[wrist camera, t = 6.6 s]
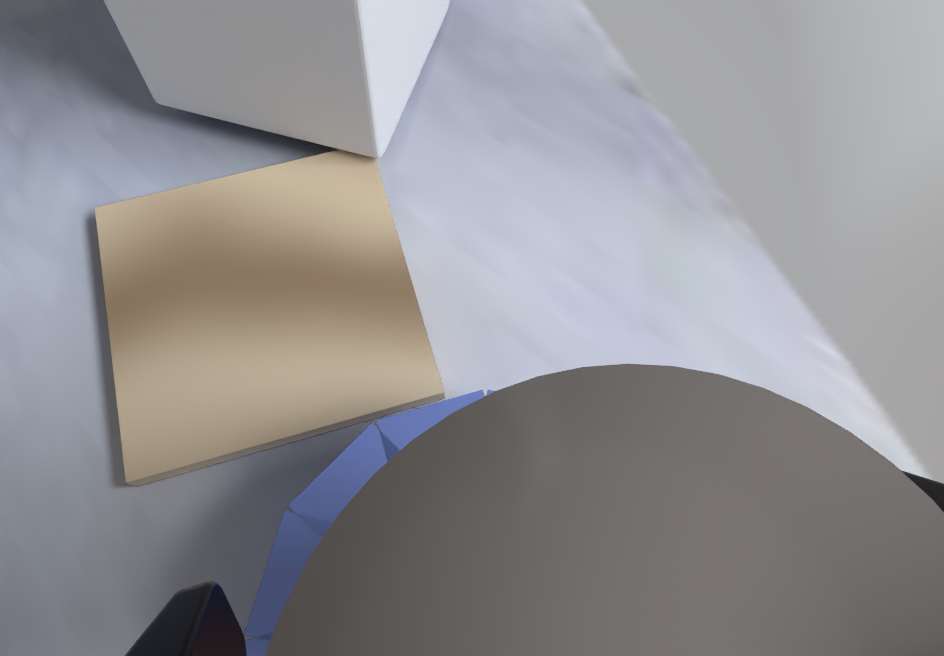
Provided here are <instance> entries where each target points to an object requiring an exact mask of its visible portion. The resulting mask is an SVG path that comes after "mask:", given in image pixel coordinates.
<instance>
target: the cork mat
mask: <svg viewBox="0 0 944 656" xmlns="http://www.w3.org/2000/svg"><path fill="white" fill-rule="evenodd" d="M95 214H96V223H97V232H98V241H99V250H100V258H101V267H102V276H103V285H104V294H105V303H106V312H107V320H108V329H109V338H110V347H111V356H112V365H113V373H114V382H115V391H116V400H117V409H118V418H119V427H120V435H121V444H122V453H123V462H124V471H125V480H126V483H128V484H131V485H134V486H141V485H144V484H148V483H151V482H155V481H158V480H162V479H165V478H169V477H172V476H176V475H179V474H183V473H186V472H190V471H193V470H197V469H200V468H203V467H207V466H210V465H214V464H217V463H221V462H224V461H228V460H231V459H235V458H238V457H242V456H245V455H249V454H252V453H256V452H259V451H263V450H266V449H270V448H273V447H277V446H280V445H284V444H287V443H291V442H294V441H298V440H301V439H305V438H308V437H312V436H315V435H319V434H322V433H326V432H329V431H333V430H336V429H340V428H343V427H347V426H350V425H354V424H357V423H361V422H364V421H368V420H371V419H375V418H378V417H382V416H385V415H389V414H392V413H396V412H399V411H403V410H406V409H410V408H413V407H417V406H420V405H424V404H427V403H431V402H434V401H438V400H441V399H445V396H444V390H443V387H442V383H441V380H440V377H439V373H438V370H437V366H436V363H435V360H434V356H433V353H432V349H431V346H430V343H429V339H428V336H427V332H426V329H425V326H424V322H423V319H422V315H421V312H420V309H419V305H418V302H417V298H416V295H415V292H414V288H413V285H412V281H411V278H410V275H409V271H408V268H407V264H406V261H405V257H404V254H403V251H402V247H401V244H400V240H399V237H398V234H397V230H396V227H395V223H394V220H393V217H392V213H391V210H390V206H389V203H388V200H387V196H386V193H385V189H384V186H383V183H382V179H381V176H380V172H379V169H378V166H377V162H376V159H375V158H373V157H369V156H365V155H361V154H357V153H353V152H349V151H345V150H341V149H339V150H335V151H331V152H327V153H322V154H318V155H314V156H310V157H306V158H301V159H297V160H293V161H289V162H285V163H281V164H276V165H272V166H268V167H264V168H260V169H255V170H251V171H247V172H243V173H239V174H234V175H230V176H226V177H222V178H218V179H213V180H209V181H205V182H201V183H197V184H192V185H188V186H184V187H180V188H176V189H172V190H167V191H163V192H159V193H155V194H151V195H146V196H142V197H138V198H134V199H130V200H125V201H121V202H117V203H113V204H109V205H104V206H100V207H96V208H95Z"/></svg>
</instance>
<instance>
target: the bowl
mask: <svg viewBox="0 0 944 656" xmlns="http://www.w3.org/2000/svg"><path fill="white" fill-rule="evenodd" d="M493 392H495V391H491V390H488V391H487V395H489V394H491V393H493ZM487 395H486V396H487ZM483 397H485V396H484V393H483V390H480V391H477V392H473V393H470V394H466V395H463V396H459V397H456V398H452V399H449V400H445V401H442V402H438V403H435V404H431V405H428V406H424V407H421V408H417V409H414V410H410V411H407V412H403V413H400V414H396V415H393V416H389V417H386V418H382V419H379V420H377V423H378V427H379V429H378V428H377V427H376V426H375V425H374V424H373V423H371V424H370V425H369V426H368V427H367V428H366V429H365V430H364V431H363V432H362V433H361V434H360V435H359V436H358V437H357V438H356V439H355V440H354V441H353V442H352V443H351V444H350V445H349V446H348V447H347V448H346V449H345V450H344V451H343V452H342V453H341V454H340V455H339V456H338V457H337V458H336V459H335V460H334V461H333V462H332V463H331V464H330V465H329V466H328V467H327V468H326V469H325V470H324V471H323V472H322V473H320V474H319V475H318V476H317V477H316V478H315V479H314V480H313V481H312V482H311V483H310V484H309V485H308V486H307V487H306V488H305V489H304V490H303V491H302V492H301V493H300V494H299V495H298V496H297V497H296V498H295V499H294V500H293V501H292V502H291V503H290V504H289V505H288V506H289V507H290V508H291V510H292V511H293V512H294V513H293V512H289V511H284V514H283V517H282V520H281V523H280V526H279V529H278V533H277V536H276V539H275V542H274V545H273V548H272V551H271V554H270V557H269V560H268V563H267V566H266V569H265V572H264V575H263V578H262V581H261V584H260V587H259V590H258V593H257V596H256V599H255V602H254V605H253V609H252V612H251V615H250V618H249V621H248V624H247V627H246V630H245V633H244V635H247V636H251V637H254V638H251V639H248V640H245V644H246V653H247V656H265V653H266V651H267V648H268V645H269V643H270V640H271V638H272V635H273V632H274V630H275V627H276V624H277V622H278V619H279V616H280V614H281V611H282V609H283V607H284V605H285V603H286V601H287V599H288V597H289V595H290V594H291V592H292V590H293V588H294V586H295V584H296V582H297V580H298V578H299V576H300V574H301V572H302V570H303V568H304V567H305V565H306V563H307V561H308V559H309V557H310V556H311V554H312V553H313V551H314V550H315V548H316V547H317V546H318V544H319V543H320V541H321V540H322V538H323V537H324V535H325V534H326V532H327V531H328V529H329V528H330V526H331V525H332V524H333V522H334V521H335V519H336V518H337V516H338V515H339V513H340V512H341V511H342V510H343V509H344V508H345V506H346V505H347V504H348V503H349V502H350V501H351V500H352V498H353V497H354V496H355V495H356V494H357V493H358V492H359V490H360V489H361V488H362V487H363V486H364V485H365V484H366V482H367V481H368V480H369V479H370V478H371V477H372V476H373V475H374V473H376V472H377V471H378V470H379V469H380V468H381V467H382V466H383V465H385V464H386V463H387V462H388V461H389V460H390V459H391V458H392V457H394V456H395V455H396V454H397V453H398V452H399V451H400V450H402V449H403V448H404V447H405V446H406V445H407V444H408V443H409V442H411V441H412V440H413V439H415V438H416V437H417V436H419V435H420V434H422V433H423V432H425V431H426V430H428V429H429V428H431V427H432V426H434V425H435V424H437V423H438V422H440V421H441V420H443V419H444V418H445V417H447V416H448V415H450V414H451V413H453V412H455V411H457V410H459V409H461V408H463V407H465V406H467V405H469V404H471V403H473V402H475V401H477V400H479V399H481V398H483Z"/></svg>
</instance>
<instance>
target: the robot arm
mask: <svg viewBox="0 0 944 656" xmlns="http://www.w3.org/2000/svg"><path fill="white" fill-rule="evenodd" d="M902 472H903V473H904V474H905V475H906V476H907V477H908V478H909V479H910V480H912V481H913V482H914V483H915V484H916V485H917V486H918V487H919V488H920V489H921V490H923V491H924V492H925V493H926V494H927V495H928V496H929V497H930V498H931V499H932V500H933V501H934V502H935V503H936V504H937V505H938V506H939V508H940V509H941V510H942V511H943V512H944V484H943V483H940V482H936V481H933V480H930V479H927V478H924V477H920V476H917V475H914V474H911V473H907V472H904V471H902ZM125 656H247V653H246V644H245V639H244V636H243V632H242V630H241V628H240V626H239V624H238V621H237V619H236V617H235V615H234V613H233V611H232V609H231V607H230V605H229V602H228V600H227V598H226V596H225V594H224V592H223V590H222V588H221V587H220V586H219V585H218V584H217V583H216V582H212V581H209V582H205V583H202V584H199V585H196V586H192V587H189V588H186V589H183V590H180V591H179V592H177V593H176V594H175V595H174V596H173V597H172V598H171V600H170V601H169V602H168V603H167V604H166V606H165V607H164V608H163V609H162V611H161V612H160V613H159V614H158V616H157V617H156V618H155V619H154V620H153V622H152V623H151V624H150V625H149V627H148V628H147V629H146V630H145V631H144V633H143V634H142V635H141V636H140V638H139V639H138V640H137V641H136V643H135V644H134V645H133V646H132V647H131V649H130V650H129V651H128V652H127V654H126V655H125Z"/></svg>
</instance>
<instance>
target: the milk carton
mask: <svg viewBox="0 0 944 656" xmlns="http://www.w3.org/2000/svg"><path fill="white" fill-rule="evenodd" d="M104 2H105V4H106V6H107V8H108V10H109V12H110V14H111V16H112V18H113V20H114V22H115V24H116V26H117V28H118V30H119V32H120V34H121V36H122V38H123V40H124V42H125V43H126V45H127V47H128V49H129V51H130V53H131V55H132V57H133V59H134V61H135V63H136V65H137V67H138V69H139V71H140V73H141V75H142V77H143V79H144V81H145V83H146V84H147V86H148V88H149V90H150V92H151V94H152V96H153V98H154V100H155V101H156V103H158V104H160V105H164V106H168V107H172V108H176V109H180V110H184V111H188V112H192V113H196V114H200V115H204V116H208V117H212V118H216V119H220V120H224V121H228V122H232V123H236V124H240V125H244V126H248V127H252V128H256V129H260V130H264V131H268V132H272V133H276V134H280V135H284V136H288V137H292V138H296V139H300V140H304V141H308V142H312V143H316V144H320V145H324V146H328V147H332V148H337V149H341V150H345V151H349V152H353V153H357V154H361V155H365V156H369V157H373V158H381V157H382V155H383V154H384V152H385V150H386V148H387V146H388V144H389V141H390V139H391V137H392V135H393V133H394V130H395V128H396V126H397V124H398V121H399V119H400V117H401V115H402V112H403V110H404V108H405V105H406V103H407V101H408V99H409V96H410V94H411V92H412V90H413V87H414V85H415V83H416V81H417V78H418V76H419V74H420V72H421V69H422V67H423V65H424V63H425V60H426V58H427V56H428V54H429V51H430V49H431V47H432V44H433V42H434V40H435V38H436V35H437V33H438V31H439V29H440V26H441V24H442V22H443V20H444V17H445V15H446V12H447V10H448V7H449V0H104Z"/></svg>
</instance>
